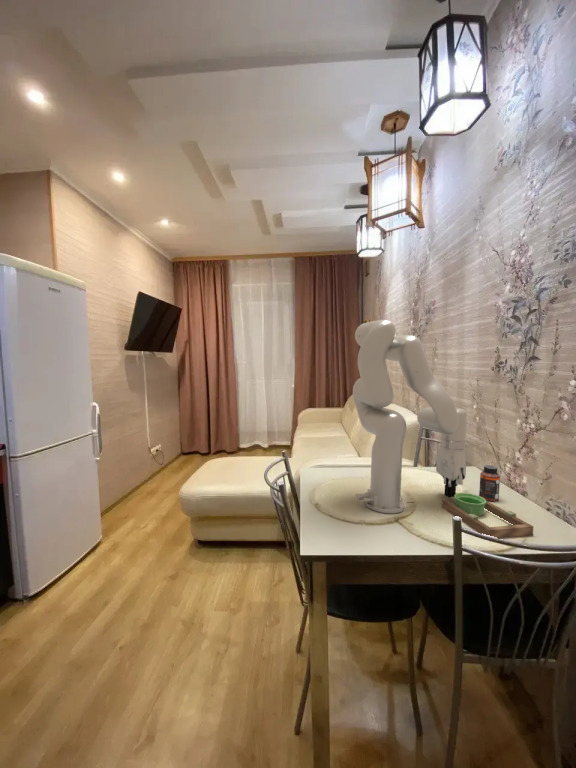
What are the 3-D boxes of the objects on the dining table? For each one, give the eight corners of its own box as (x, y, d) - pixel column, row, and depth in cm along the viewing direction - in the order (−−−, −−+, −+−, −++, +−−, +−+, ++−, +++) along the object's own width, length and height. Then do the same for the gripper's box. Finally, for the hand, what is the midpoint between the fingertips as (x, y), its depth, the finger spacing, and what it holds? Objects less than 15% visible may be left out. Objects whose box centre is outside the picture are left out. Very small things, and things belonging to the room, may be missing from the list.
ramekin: (448, 509, 113) (448, 496, 113) (462, 503, 119) (463, 490, 118) (476, 520, 106) (477, 506, 106) (490, 513, 112) (491, 499, 111)
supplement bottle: (502, 502, 120) (504, 469, 119) (484, 501, 120) (486, 469, 119) (492, 495, 126) (494, 464, 125) (475, 495, 126) (477, 463, 125)
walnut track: (488, 539, 95) (488, 527, 95) (441, 507, 115) (441, 497, 115) (533, 535, 98) (534, 523, 98) (479, 504, 118) (480, 494, 118)
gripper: (429, 439, 127) (427, 489, 129) (457, 450, 112) (454, 506, 114) (448, 438, 129) (445, 488, 130) (478, 449, 114) (474, 504, 115)
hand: (449, 496), depth 122 cm, fingers closed
